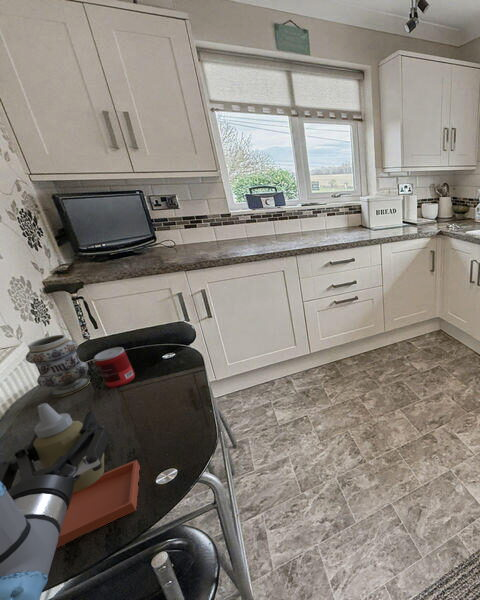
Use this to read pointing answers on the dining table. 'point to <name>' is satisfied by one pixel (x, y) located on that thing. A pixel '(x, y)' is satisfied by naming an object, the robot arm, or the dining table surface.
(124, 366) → the canned food
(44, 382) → the apothecary jar
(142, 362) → the dining table surface
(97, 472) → the squeeze bottle
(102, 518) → the tray
